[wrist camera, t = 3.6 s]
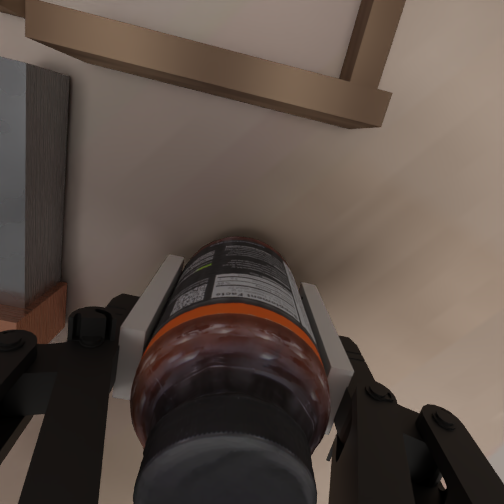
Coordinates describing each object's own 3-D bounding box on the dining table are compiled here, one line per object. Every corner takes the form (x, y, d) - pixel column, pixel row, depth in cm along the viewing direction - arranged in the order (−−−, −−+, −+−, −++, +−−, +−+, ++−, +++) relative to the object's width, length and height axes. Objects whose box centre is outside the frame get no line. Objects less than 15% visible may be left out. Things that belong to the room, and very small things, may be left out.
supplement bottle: (256, 351, 19) (266, 625, 8) (162, 303, 18) (37, 547, 7) (316, 268, 17) (423, 479, 7) (216, 210, 16) (156, 351, 6)
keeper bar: (21, 317, 20) (-39, 364, 16) (22, 65, 16) (-61, 40, 12) (64, 326, 21) (16, 375, 16) (77, 78, 16) (15, 58, 12)
